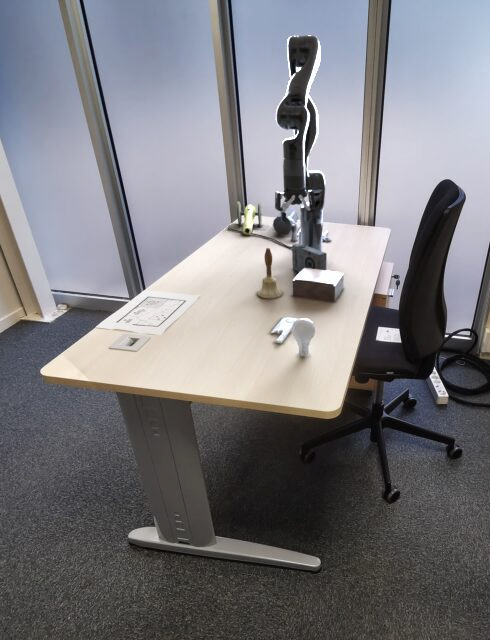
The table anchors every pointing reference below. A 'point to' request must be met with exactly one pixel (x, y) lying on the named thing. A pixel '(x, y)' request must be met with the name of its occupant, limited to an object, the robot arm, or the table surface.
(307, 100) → the robot arm
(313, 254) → the camera
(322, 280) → the block
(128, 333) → the table surface
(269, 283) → the hand bell
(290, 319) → the white cleaver
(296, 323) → the lightbulb
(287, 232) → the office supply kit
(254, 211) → the cannon
